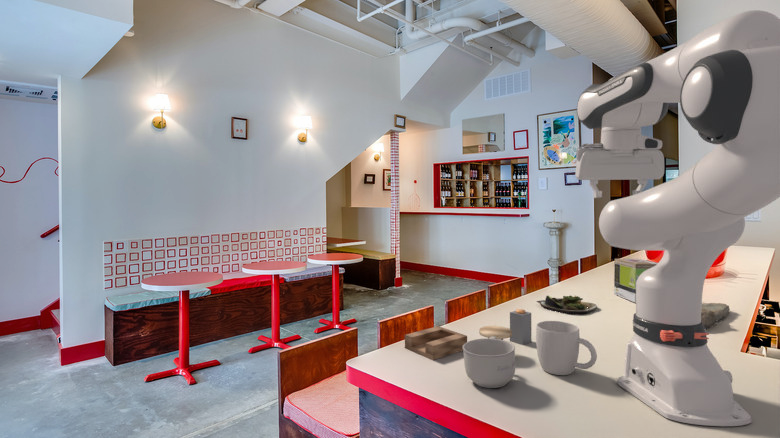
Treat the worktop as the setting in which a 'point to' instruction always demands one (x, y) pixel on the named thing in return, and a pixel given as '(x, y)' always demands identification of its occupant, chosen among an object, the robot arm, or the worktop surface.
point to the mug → (561, 347)
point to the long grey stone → (713, 313)
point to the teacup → (489, 361)
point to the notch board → (435, 342)
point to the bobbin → (495, 332)
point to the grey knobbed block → (520, 326)
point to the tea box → (629, 276)
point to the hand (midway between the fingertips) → (617, 197)
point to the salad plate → (567, 305)
